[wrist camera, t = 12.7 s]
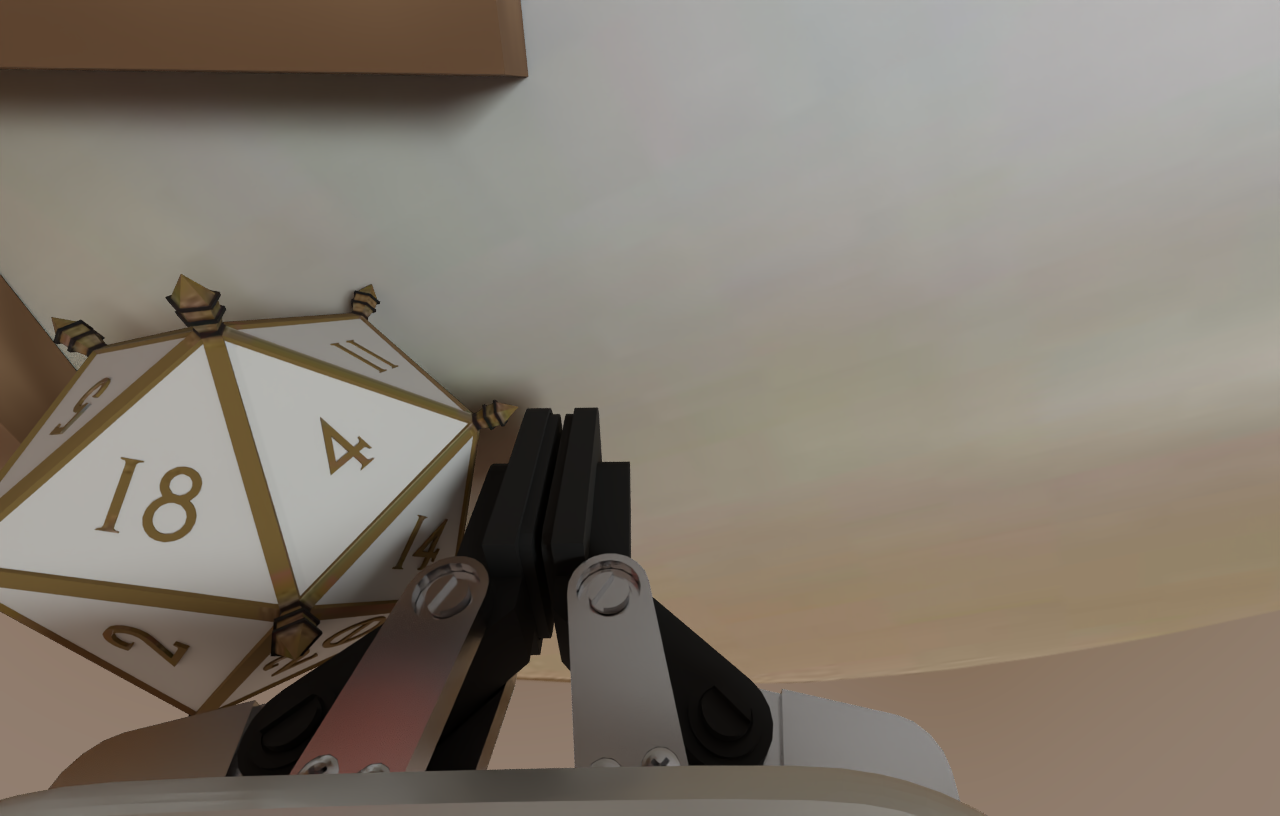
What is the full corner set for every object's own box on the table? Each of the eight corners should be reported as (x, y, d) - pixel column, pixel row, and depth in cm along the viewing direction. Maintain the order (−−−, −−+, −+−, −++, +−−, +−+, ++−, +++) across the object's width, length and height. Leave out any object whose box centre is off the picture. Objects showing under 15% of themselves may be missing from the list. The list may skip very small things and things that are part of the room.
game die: (467, 295, 15) (647, 365, 8) (435, 527, 17) (555, 769, 9) (33, 213, 10) (-867, 175, 2) (54, 569, 12) (-390, 1234, 4)
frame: (-344, -46, 8) (-603, -81, 6) (517, -29, 8) (488, -58, 6) (196, 573, 18) (151, 624, 16) (579, 571, 18) (574, 620, 16)
